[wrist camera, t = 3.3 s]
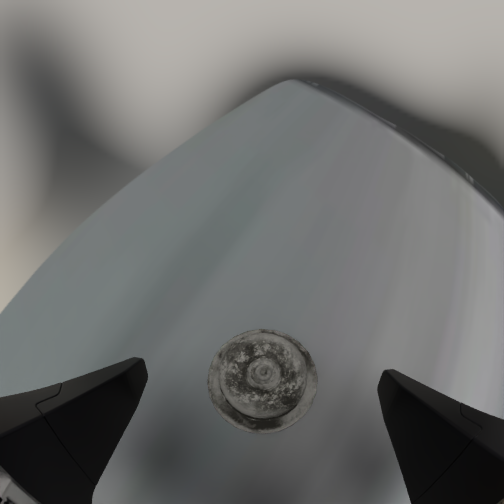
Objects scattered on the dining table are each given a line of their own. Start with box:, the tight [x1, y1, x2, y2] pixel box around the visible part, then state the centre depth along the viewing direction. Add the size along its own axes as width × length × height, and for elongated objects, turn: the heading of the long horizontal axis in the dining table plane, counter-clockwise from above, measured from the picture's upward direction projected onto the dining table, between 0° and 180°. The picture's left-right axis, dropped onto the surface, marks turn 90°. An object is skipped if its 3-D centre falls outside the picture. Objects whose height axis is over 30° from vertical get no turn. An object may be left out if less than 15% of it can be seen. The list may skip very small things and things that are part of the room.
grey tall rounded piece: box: [208, 329, 317, 434], centre depth 12 cm, size 6×6×12 cm
